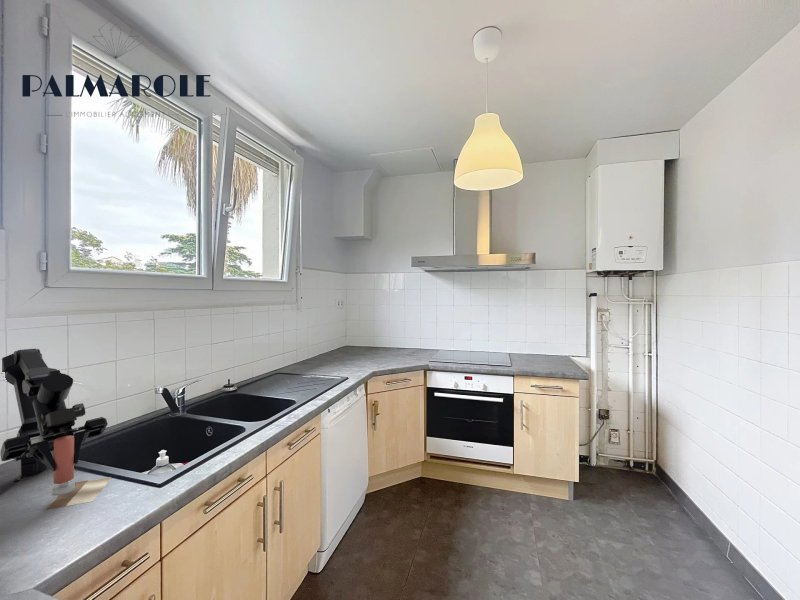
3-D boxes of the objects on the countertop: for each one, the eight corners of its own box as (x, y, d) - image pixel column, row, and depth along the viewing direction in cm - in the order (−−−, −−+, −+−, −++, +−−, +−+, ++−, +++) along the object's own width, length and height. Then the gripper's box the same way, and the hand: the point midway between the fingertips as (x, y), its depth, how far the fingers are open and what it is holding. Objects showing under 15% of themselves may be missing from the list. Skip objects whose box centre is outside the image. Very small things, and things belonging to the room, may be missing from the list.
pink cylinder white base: (59, 487, 86) (59, 436, 86) (78, 485, 87) (78, 434, 87) (48, 496, 82) (48, 442, 82) (68, 494, 83) (68, 441, 83)
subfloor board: (69, 487, 92) (69, 483, 92) (111, 481, 95) (111, 476, 95) (44, 514, 81) (44, 509, 81) (93, 505, 84) (93, 500, 84)
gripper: (3, 405, 78) (15, 466, 73) (105, 387, 94) (121, 436, 89) (-5, 431, 83) (6, 491, 77) (94, 410, 98) (109, 458, 93)
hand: (65, 466), depth 84 cm, fingers closed on pink cylinder white base, 4 cm apart
